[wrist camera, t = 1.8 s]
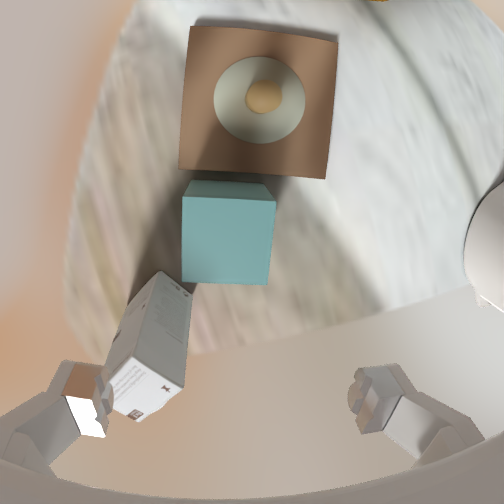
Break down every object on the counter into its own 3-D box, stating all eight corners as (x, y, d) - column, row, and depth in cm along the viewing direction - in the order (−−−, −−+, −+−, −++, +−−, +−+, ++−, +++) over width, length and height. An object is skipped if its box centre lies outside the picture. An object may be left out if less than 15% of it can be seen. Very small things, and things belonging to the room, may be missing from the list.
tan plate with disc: (333, 46, 23) (351, 34, 19) (320, 177, 27) (337, 186, 23) (191, 30, 21) (186, 14, 18) (180, 167, 26) (173, 174, 22)
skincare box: (159, 267, 29) (129, 351, 18) (196, 296, 30) (187, 387, 19) (123, 309, 30) (88, 396, 19) (159, 334, 32) (139, 425, 21)
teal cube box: (263, 183, 27) (276, 201, 21) (256, 249, 29) (267, 285, 23) (191, 179, 26) (182, 196, 20) (189, 246, 28) (181, 281, 22)
